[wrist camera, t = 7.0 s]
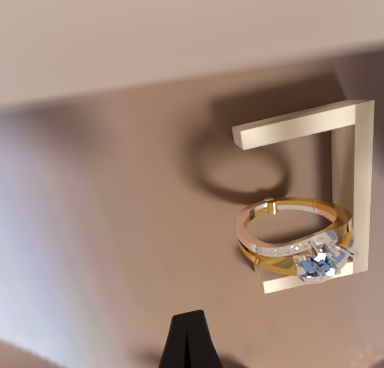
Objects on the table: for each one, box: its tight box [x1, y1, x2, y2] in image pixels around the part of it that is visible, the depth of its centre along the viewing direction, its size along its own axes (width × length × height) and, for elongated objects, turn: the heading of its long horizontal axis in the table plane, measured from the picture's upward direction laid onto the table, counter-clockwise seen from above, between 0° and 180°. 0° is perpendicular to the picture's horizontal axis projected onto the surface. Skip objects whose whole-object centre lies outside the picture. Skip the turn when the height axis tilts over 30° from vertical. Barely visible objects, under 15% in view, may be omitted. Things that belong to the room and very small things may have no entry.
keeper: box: [232, 100, 375, 293], centre depth 18 cm, size 8×13×2 cm, turn 13°
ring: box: [236, 197, 359, 284], centre depth 16 cm, size 7×3×8 cm, turn 99°
